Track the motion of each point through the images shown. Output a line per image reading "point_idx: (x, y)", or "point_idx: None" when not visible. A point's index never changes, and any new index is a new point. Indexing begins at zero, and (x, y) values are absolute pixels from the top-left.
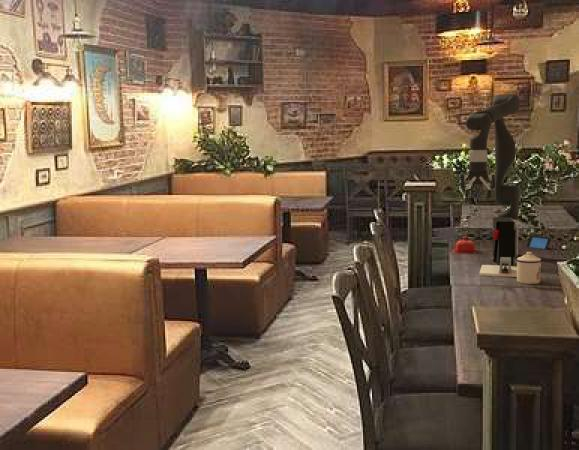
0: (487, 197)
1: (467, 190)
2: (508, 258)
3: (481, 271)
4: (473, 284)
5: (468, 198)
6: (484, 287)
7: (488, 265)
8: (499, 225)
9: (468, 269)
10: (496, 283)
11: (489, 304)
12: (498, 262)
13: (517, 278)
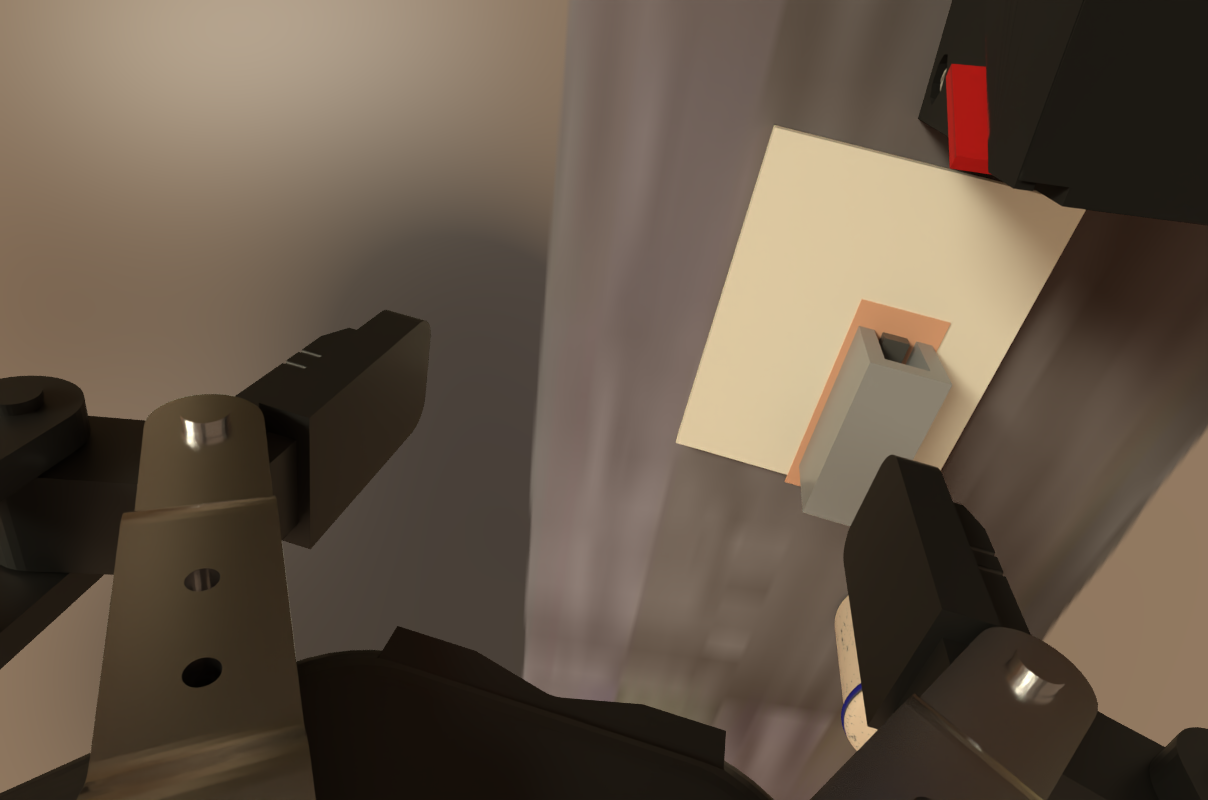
0: (851, 567)
1: (291, 539)
2: (907, 430)
3: (699, 399)
4: (603, 629)
5: (427, 362)
6: (640, 684)
7: (819, 160)
8: (1045, 192)
9: (648, 225)
10: (716, 627)
11: None
12: (928, 114)
13: (835, 632)
